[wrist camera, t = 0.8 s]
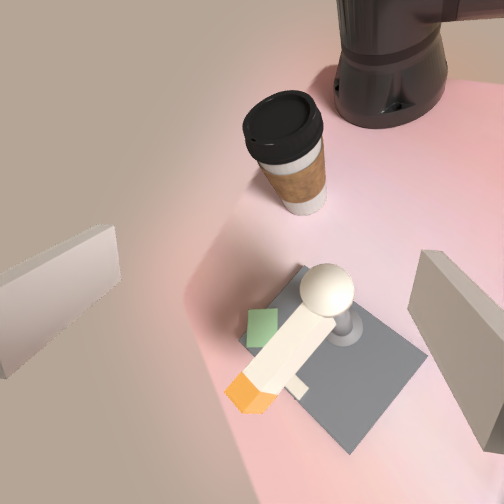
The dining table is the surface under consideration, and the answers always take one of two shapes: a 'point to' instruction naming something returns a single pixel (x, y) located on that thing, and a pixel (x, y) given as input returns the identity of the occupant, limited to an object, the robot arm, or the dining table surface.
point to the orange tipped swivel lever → (296, 338)
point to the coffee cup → (289, 148)
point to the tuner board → (341, 367)
